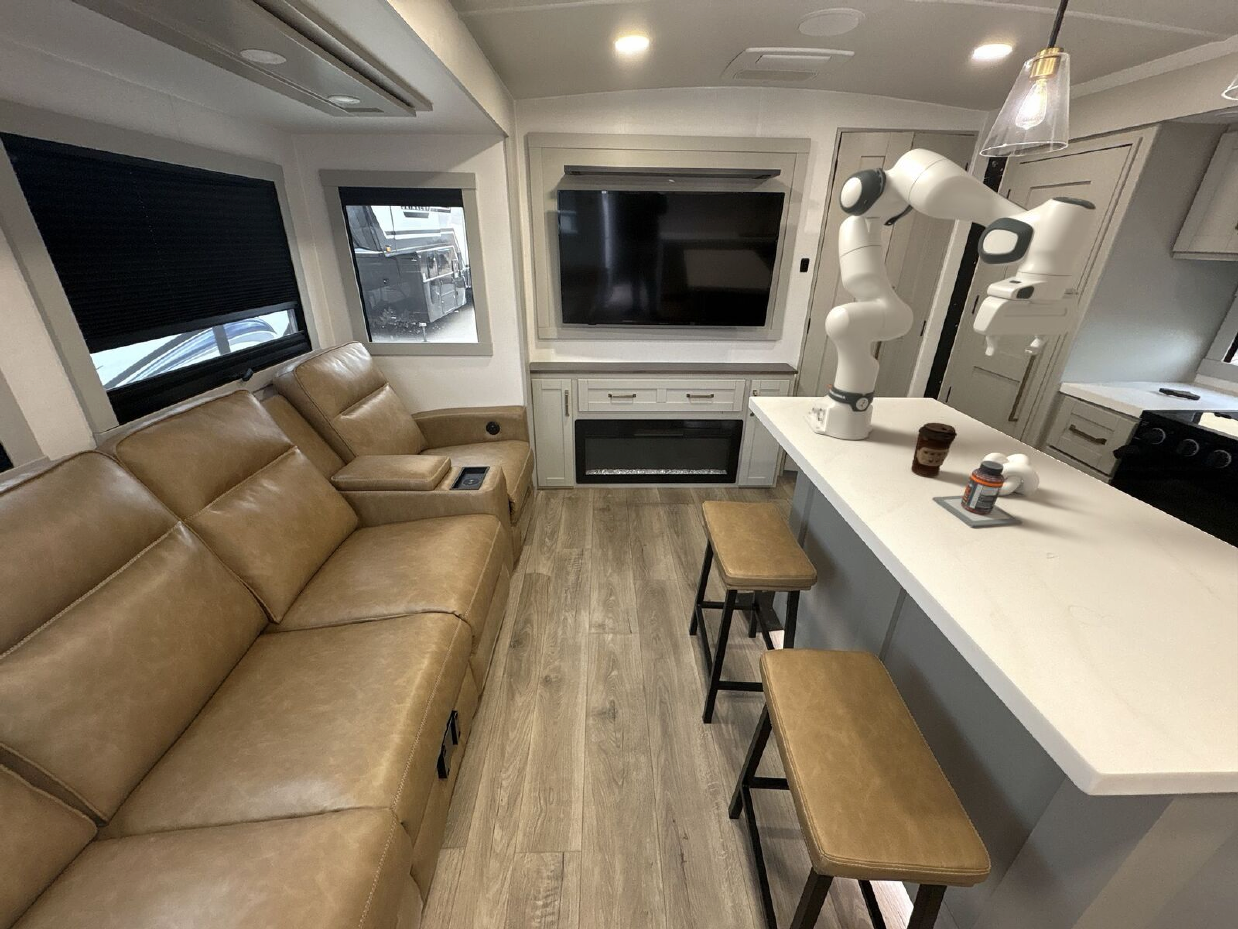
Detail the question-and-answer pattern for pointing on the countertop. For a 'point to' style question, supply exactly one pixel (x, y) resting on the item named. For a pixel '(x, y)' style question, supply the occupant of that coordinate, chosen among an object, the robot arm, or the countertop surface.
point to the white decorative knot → (1015, 473)
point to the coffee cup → (932, 448)
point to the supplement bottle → (983, 488)
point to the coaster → (973, 519)
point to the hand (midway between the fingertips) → (1010, 354)
